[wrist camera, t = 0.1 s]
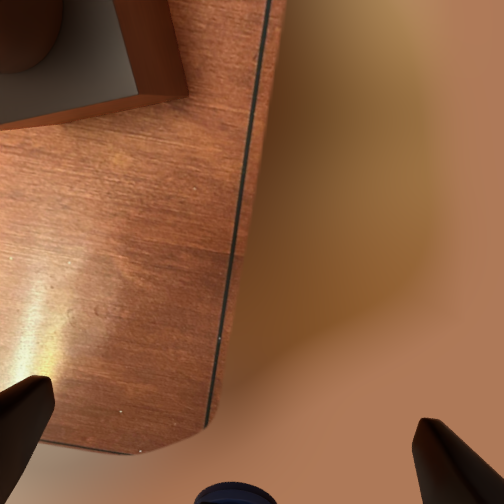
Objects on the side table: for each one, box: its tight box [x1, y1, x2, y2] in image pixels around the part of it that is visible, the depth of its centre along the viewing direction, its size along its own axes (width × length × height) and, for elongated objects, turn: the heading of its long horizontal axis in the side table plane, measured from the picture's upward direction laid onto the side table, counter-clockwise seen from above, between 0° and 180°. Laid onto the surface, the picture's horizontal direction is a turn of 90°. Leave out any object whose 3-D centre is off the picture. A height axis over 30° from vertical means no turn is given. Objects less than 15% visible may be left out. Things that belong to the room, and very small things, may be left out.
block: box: [0, 0, 189, 131], centre depth 16 cm, size 8×8×8 cm
